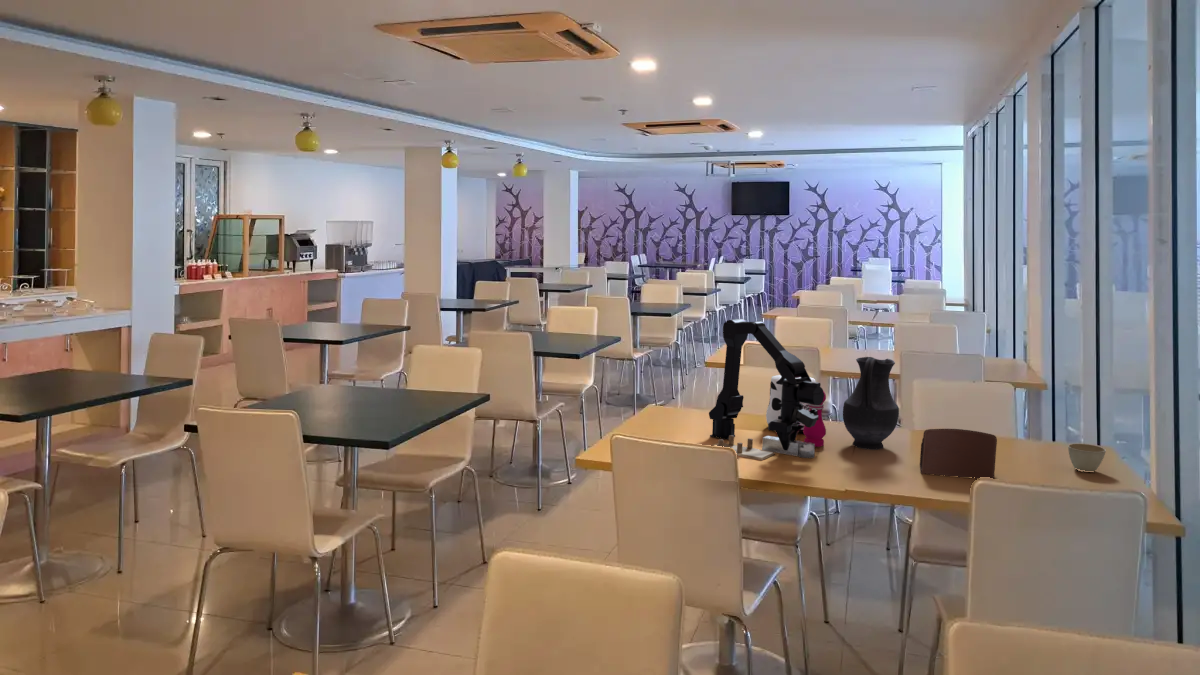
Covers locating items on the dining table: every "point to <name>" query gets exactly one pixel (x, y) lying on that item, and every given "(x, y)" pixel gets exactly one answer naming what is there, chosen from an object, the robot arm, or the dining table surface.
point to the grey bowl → (1086, 456)
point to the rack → (746, 449)
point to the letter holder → (958, 453)
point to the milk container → (779, 400)
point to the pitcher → (871, 405)
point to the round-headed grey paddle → (789, 447)
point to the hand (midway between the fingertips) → (788, 449)
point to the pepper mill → (816, 427)
